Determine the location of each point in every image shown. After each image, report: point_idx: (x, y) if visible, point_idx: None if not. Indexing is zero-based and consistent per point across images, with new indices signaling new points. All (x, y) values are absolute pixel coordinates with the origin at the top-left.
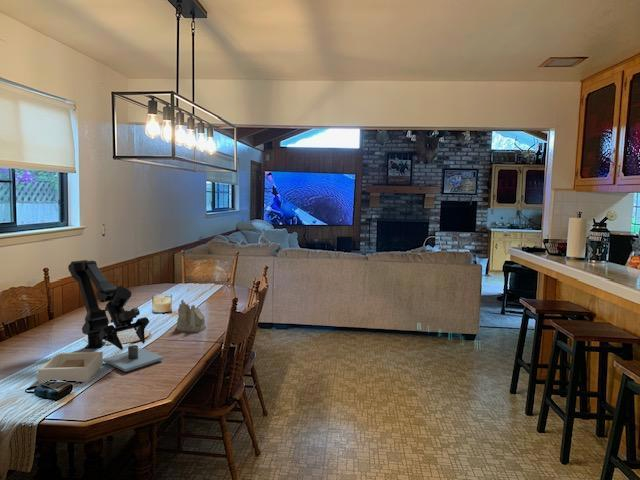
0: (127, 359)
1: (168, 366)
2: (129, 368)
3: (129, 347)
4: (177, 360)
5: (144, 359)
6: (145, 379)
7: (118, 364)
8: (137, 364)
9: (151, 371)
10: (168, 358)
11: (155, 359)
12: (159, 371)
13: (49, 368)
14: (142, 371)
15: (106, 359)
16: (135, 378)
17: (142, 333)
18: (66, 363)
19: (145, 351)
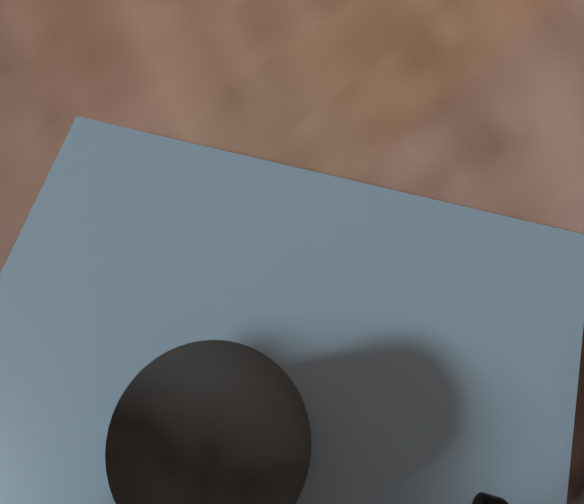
0: (329, 476)
1: (204, 23)
2: (527, 226)
3: (275, 483)
4: (36, 44)
5: (231, 252)
6: (541, 4)
7: (538, 445)
8: (406, 208)
9: (374, 74)
10: (6, 151)
11: (177, 141)
12: (340, 16)
13: None
14: (418, 146)
15: None
16: (580, 88)
17: None
18: None
19: None
